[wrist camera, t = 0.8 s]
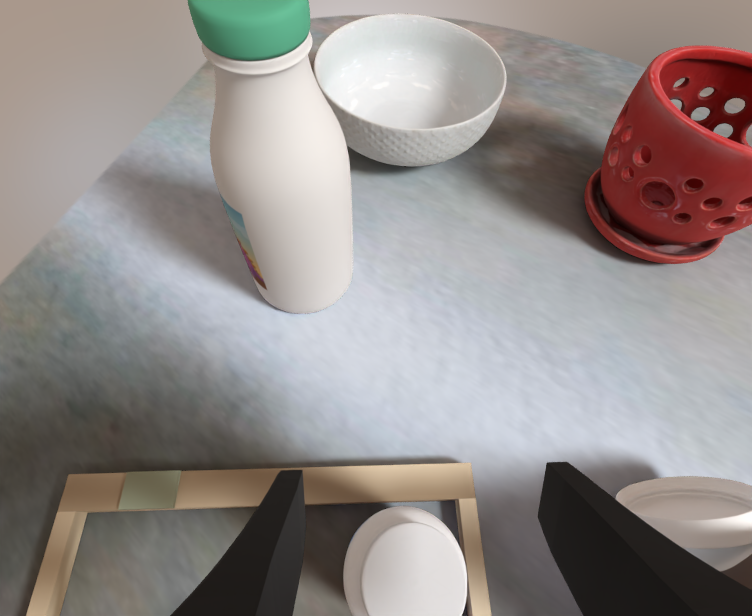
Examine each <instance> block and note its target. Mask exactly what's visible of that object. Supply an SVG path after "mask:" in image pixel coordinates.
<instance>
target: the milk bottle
mask: <svg viewBox="0 0 752 616" xmlns="http://www.w3.org/2000/svg"><path fill="white" fill-rule="evenodd" d="M188 5H189V9H190V13H191V16H192V20H193V23H194V25H195V28H196V31H197V34H198V36H199V38H200V39H201V41H202V50H203V53H204V55H205V57H206V58H207V59H208V60H209V61H210V62H211V63H212V64H213V66H214V70H215V80H216V100H215V109H214V115H213V120H212V127H211V134H210V154H211V163H212V168H213V172H214V177H215V180H216V184H217V186H218V189H219V192H220V195H221V198H222V201H223V204H224V207H225V209H226V212H227V214H228V217H229V219H230V222H231V225H232V227H233V230H234V232H235V235H236V237H237V240H238V242H239V245H240V247H241V250H242V252H243V255H244V257H245V260H246V262H247V264H248V267H249V269H250V272H251V274H252V277H253V279H254V281H255V284H256V286H257V288H258V290H259V292H260V293H261V295H262V296H263V297H264V299H265V300H266V301H268V302H269V303H270V304H271V305H273V306H274V307H276V308H278V309H281V310H283V311H286V312H290V313H296V314H309V313H314V312H318V311H321V310H323V309H326V308H328V307H329V306H331V305H333V304H334V303H335V302H337V301H338V300H339V299H340V298H341V297H342V296H343V295H344V294H345V292H346V291H347V289H348V288H349V286H350V283H351V280H352V276H353V223H352V193H351V176H350V163H349V155H348V150H347V145H346V141H345V138H344V134H343V131H342V129H341V126H340V124H339V122H338V120H337V118H336V116H335V114H334V112H333V110H332V109H331V107H330V105H329V104H328V102H327V100H326V99H325V97H324V95H323V94H322V92H321V90H320V88H319V86H318V83H317V81H316V79H315V76H314V74H313V71H312V68H311V66H310V62H309V58H308V53H309V51H310V49H311V47H312V36H311V33H310V31H309V30H310V9H309V2H308V0H188Z"/></svg>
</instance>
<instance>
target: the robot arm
mask: <svg viewBox="0 0 752 616" xmlns="http://www.w3.org/2000/svg"><path fill="white" fill-rule="evenodd" d="M538 519H539V522H540V524H541V527H542V530H543V533H544V535H545V538H546V541H547V543H548V546H549V548H550V551H551V553H552V555H553V557H554V559H555V561H556V563H557V565H558V567H559V569H560V571H561V573H562V575H563V577H564V579H565V581H566V583H567V585H568V587H569V589H570V591H571V593H572V595H573V596H574V598H575V600H576V602H577V604H578V606H579V608H580V610H581V612H582V614H583V616H752V590H751V589H749V588H748V587H746V586H744V585H742V584H740V583H739V582H737V581H735V580H733V579H732V578H730V577H728V576H727V575H725V574H723V573H722V572H720V571H718V570H717V569H715V568H713V567H712V566H710V565H709V564H707V563H705V562H704V561H702V560H701V559H699V558H697V557H696V556H694V555H693V554H691V553H689V552H688V551H686V550H685V549H683V548H682V547H680V546H679V545H677V544H676V543H674V542H673V541H672V540H670V539H669V538H667V537H666V536H664V535H663V534H662V533H660V532H659V531H657V530H656V529H654V528H653V527H652V526H650V525H649V524H647V523H646V522H645V521H643V520H642V519H641V518H639V517H638V516H637V515H635V514H634V513H633V512H631V511H630V510H629V509H627V508H626V507H625V506H623V505H622V504H621V503H619V502H618V501H617V500H616V499H614V498H613V497H612V496H610V495H609V494H608V493H607V492H605V491H604V490H603V489H602V488H600V487H599V486H598V485H596V484H595V483H594V482H593V481H591V480H590V479H589V478H588V477H586V476H585V475H584V474H582V473H581V472H580V471H579V470H577V469H576V468H575V467H573V466H572V465H571V464H569V463H568V462H549V463H547V465H546V471H545V477H544V483H543V489H542V494H541V500H540V506H539V512H538ZM305 532H306V514H305V499H304V483H303V470H281V471H280V472H279V473H278V474H277V476H276V478H275V480H274V482H273V483H272V485H271V487H270V489H269V490H268V492H267V494H266V495H265V497H264V498H263V500H262V502H261V503H260V505H259V506H258V508H257V509H256V511H255V512H254V514H253V515H252V517H251V518H250V520H249V521H248V523H247V524H246V526H245V527H244V529H243V530H242V531H241V533H240V534H239V536H238V537H237V538H236V540H235V541H234V542H233V544H232V545H231V546H230V547H229V549H228V550H227V551H226V553H225V554H224V555H223V557H222V558H221V559H220V561H219V562H218V563H217V564H216V565H215V567H214V568H213V569H212V570H211V572H210V573H209V574H208V575H207V576H206V577H205V579H204V580H203V581H202V582H201V583H200V584H199V585H198V587H197V588H196V589H195V590H194V591H193V592H192V593H191V594H190V595H189V596H188V598H187V599H186V600H185V601H184V602H183V603H182V604H181V605H180V606H179V607H178V608H177V609H176V610H175V611H174V612H173V613H172V614H171V615H170V616H292V615H293V610H294V604H295V599H296V594H297V589H298V584H299V579H300V574H301V568H302V563H303V554H304V544H305Z"/></svg>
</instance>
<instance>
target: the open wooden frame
mask: <svg viewBox="0 0 752 616" xmlns="http://www.w3.org/2000/svg"><path fill="white" fill-rule="evenodd" d="M281 470H303V483H304V499H305V505H331V504H362V503H392V502H422V501H452V500H455V506H456V515H457V524H458V533H459V542H460V549H461V551H462V554H463V557H464V561H465V565H466V571H467V597H466V604H467V613H468V616H491V609H490V601H489V594H488V587H487V579H486V572H485V564H484V557H483V549H482V542H481V535H480V527H479V520H478V512H477V505H476V497H475V490H474V482H473V475H472V468H471V463H445V464H410V465H375V466H341V467H306V468H271V469H237V470H202V471H180V470H175V471H141V472H127V473H98V474H69V475H68V478H67V482H66V485H65V488H64V492H63V495H62V498H61V501H60V505H59V508H58V511H57V515H56V518H55V521H54V525H53V528H52V531H51V535H50V538H49V541H48V545H47V548H46V551H45V554H44V558H43V561H42V564H41V568H40V571H39V574H38V578H37V581H36V584H35V588H34V591H33V594H32V597H31V601H30V604H29V607H28V611H27V614H26V616H60V613H61V609H62V605H63V602H64V598H65V594H66V590H67V587H68V583H69V579H70V576H71V572H72V568H73V565H74V561H75V557H76V554H77V550H78V546H79V542H80V539H81V535H82V531H83V528H84V524H85V520H86V517H87V513H89V512H119V511H150V510H180V509H210V508H240V507H258V506H259V505H260V503H261V502H262V500H263V498H264V497H265V495H266V494H267V492H268V490H269V489H270V487H271V485H272V483H273V482H274V480H275V478H276V476H277V474H278V473H279V472H280V471H281Z"/></svg>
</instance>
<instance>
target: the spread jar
mask: <svg viewBox="0 0 752 616" xmlns="http://www.w3.org/2000/svg"><path fill="white" fill-rule="evenodd" d="M615 498H616V500H617V501H618V502H619V503H621V504H622V505H623V506H625V507H626V508H627V509H629V510H630V511H631V512H633V513H634V514H635V515H637V516H638V517H639V518H641V519H642V520H643V521H645V522H646V523H647V524H649V525H650V526H652V527H653V528H654V529H656V530H657V531H659V532H660V533H662V534H663V535H664V536H666V537H667V538H669V539H670V540H672V541H673V542H674V543H676V544H677V545H679V546H680V547H682V548H683V549H685V550H686V551H688V552H689V553H691V554H693V555H694V556H696V557H697V558H699V559H701V560H702V561H704V562H705V563H707V564H709V565H710V566H712V567H713V568H715V569H717V570H718V571H720V572H722V573H723V574H725V575H727V576H728V577H730V578H732V579H733V580H735V581H737V582H739V583H740V584H742V585H744V586H746V587H748V588H749V589H751V590H752V486H750V485H747V484H744V483H741V482H737V481H733V480H727V479H721V478H712V477H696V476H682V477H666V478H657V479H651V480H646V481H642V482H638V483H634V484H632V485H629V486H627V487H625V488H623V489H621V490H620V491H619V492H618V493H617V495H616V497H615Z"/></svg>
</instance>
